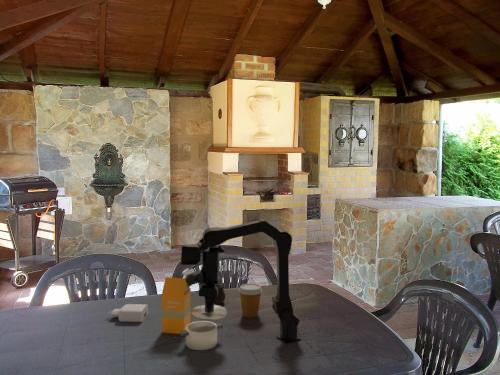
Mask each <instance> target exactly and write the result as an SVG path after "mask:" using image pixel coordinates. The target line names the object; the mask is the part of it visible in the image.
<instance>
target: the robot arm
mask: <svg viewBox="0 0 500 375" xmlns="http://www.w3.org/2000/svg"><path fill="white" fill-rule="evenodd" d="M259 233H263V234H265V235H267V237H270V238H271V239H272V243H273V247H274V250H275V255H276V280H277V281H276V289H277V291H276V295H275V296H272V298H271V299H272V306H271V307H272V310H273V311H274V313H275V314H276V315H277V318H278V319H279V334H277V335H276V338H278V340H281V341H282V342H284V343H287V344H288V343H292V342H296V341H300V340H301V337H300V336H299V335H298V326H299V323H300V319H299V317H298V316H297V315H296V313H295V312H294V308H293V304H292V299H291V297H290V281H289V280H290V276H289V274H290V273H289V272H290V271H289V270H290V269H289V268H290V267H289V263H290V262H289V255H290V253H291V249H292V245H293V244H292V243H293V237H292V235H291V234H290V233H289V232H288V231H286V230H285V229H284V228H277V227H275V226H274V225H272V224H271V223H269V222H267V220H265V219H263V218H262V219H261V218H260V219H257V220H254V221H250V222H246V223H241V224H237V225H232V226H227V227H221V226H220V227H219V226H217V227H215V226H214V227H207V228H205V229H204V230H203V232H202V235H201V236H202V237H201V239H200V240H199V241H198V243H197V244H196V245H187V244H182V245H181V251H180V252H181V253H180V266H197V265H198V264H199V263H201V267H200V268H201V269H200V270H196V271H194V272H191V273H188V274H186V275H185V277H184V278H185V279H186V283H187V285H188V286H189V287H191V286H193V285H195V284H198V283H199V284H200V287H199V289H198V297H203V298H204V302H205V301H206V306H207V310H211V308H212V306H213V303H214V301H215V299H216V296H217V295H218V288H219V285H215V284H221V283H220V282H221V276H220V275H219V270H220V266H219V265H220V263H219V260H220V259H219V258H220V257H219V256H220V254H221V253H225V249H224V248H223V247H222V246H221V244H224V243H225V242H227V241H229V240H232V239H237V238H240V237H245V236H246V237H247V236H249V235H254V234H259ZM201 253H202V254H201ZM201 257H202V258H201Z"/></svg>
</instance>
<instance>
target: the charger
mask: <svg viewBox="0 0 500 375" xmlns="http://www.w3.org/2000/svg"><path fill="white" fill-rule="evenodd" d="M107 314H110V315H111V317H118V321H119V322H122V323H123V322H124V323H128V322H129V323H143V322H144V321H145V319H146V318H147V317H148V316H149V304H145V303H144V304H136V303H134V304H133V303H126V304H124V305H123V306H122V307H121V308H114V309H113V310H109V312H107Z"/></svg>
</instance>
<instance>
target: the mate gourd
mask: <svg viewBox="0 0 500 375" xmlns="http://www.w3.org/2000/svg"><path fill="white" fill-rule="evenodd" d="M226 282H227V281H224V282H223V283H218V284H215V285H219V288H218V295H217V296H216V299H215V301H214V305H222V304H223V303H224V301H225V299H226V293H225V290H224V285H225V284H226Z"/></svg>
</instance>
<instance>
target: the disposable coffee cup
mask: <svg viewBox="0 0 500 375" xmlns="http://www.w3.org/2000/svg"><path fill="white" fill-rule="evenodd" d="M238 291H239V294H240V302H241V312H242V316H243V317H245V318H257V317H258V315H259V309H260V301H261V295H262V291H263V289H262V286H261V285H260V284H257V283H244V284H241V285H240V286H239V288H238Z"/></svg>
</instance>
